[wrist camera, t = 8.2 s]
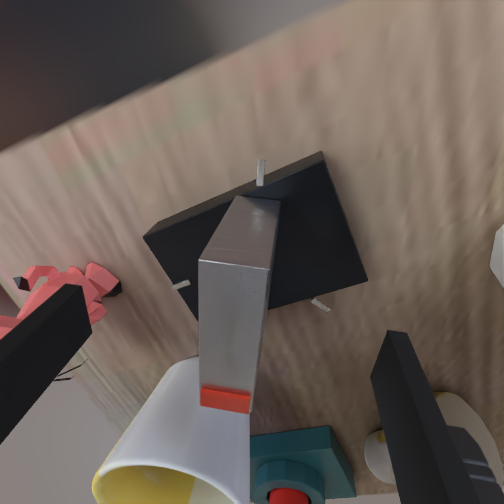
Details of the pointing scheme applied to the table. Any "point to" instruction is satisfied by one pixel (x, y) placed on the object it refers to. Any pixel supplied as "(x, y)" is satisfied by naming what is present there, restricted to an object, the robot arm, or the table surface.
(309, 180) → the plate
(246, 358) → the spout
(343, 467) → the switch
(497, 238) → the vase
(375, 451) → the mug
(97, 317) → the pink cat figurine
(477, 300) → the table surface
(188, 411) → the mug
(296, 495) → the button
